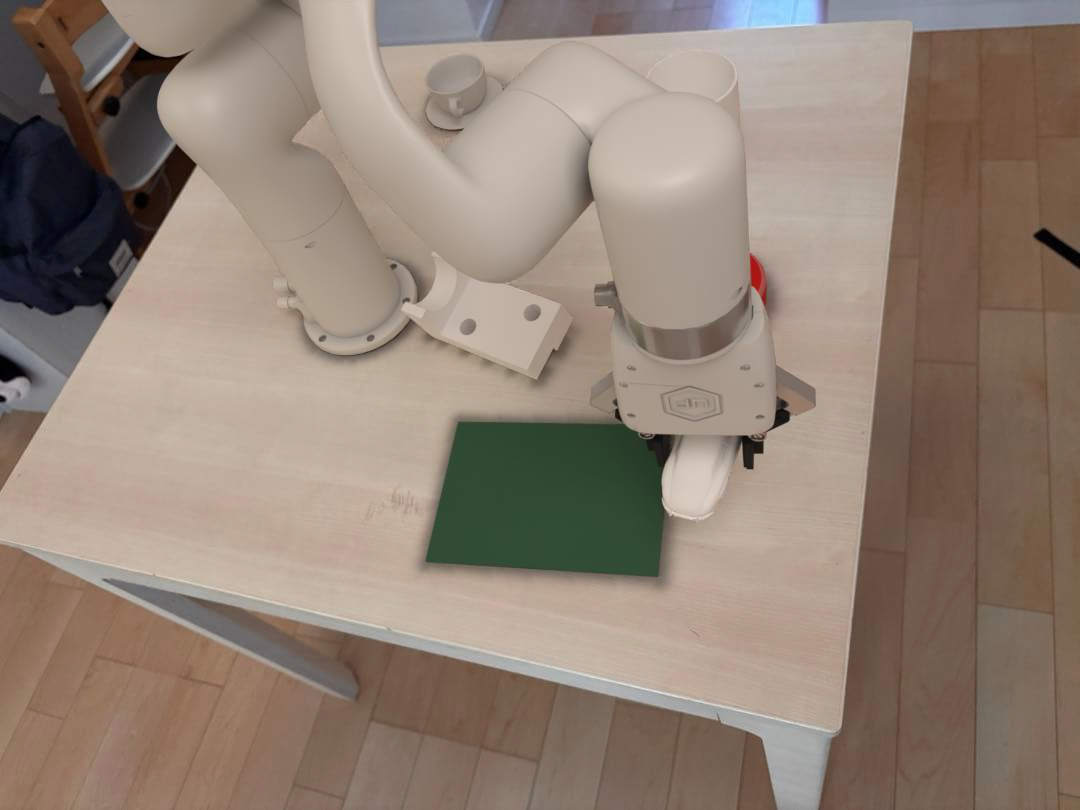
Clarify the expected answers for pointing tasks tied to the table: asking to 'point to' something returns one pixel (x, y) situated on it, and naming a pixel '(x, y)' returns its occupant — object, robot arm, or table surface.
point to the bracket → (491, 319)
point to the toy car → (698, 474)
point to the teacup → (458, 90)
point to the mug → (700, 77)
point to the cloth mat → (550, 499)
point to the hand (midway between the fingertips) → (706, 450)
